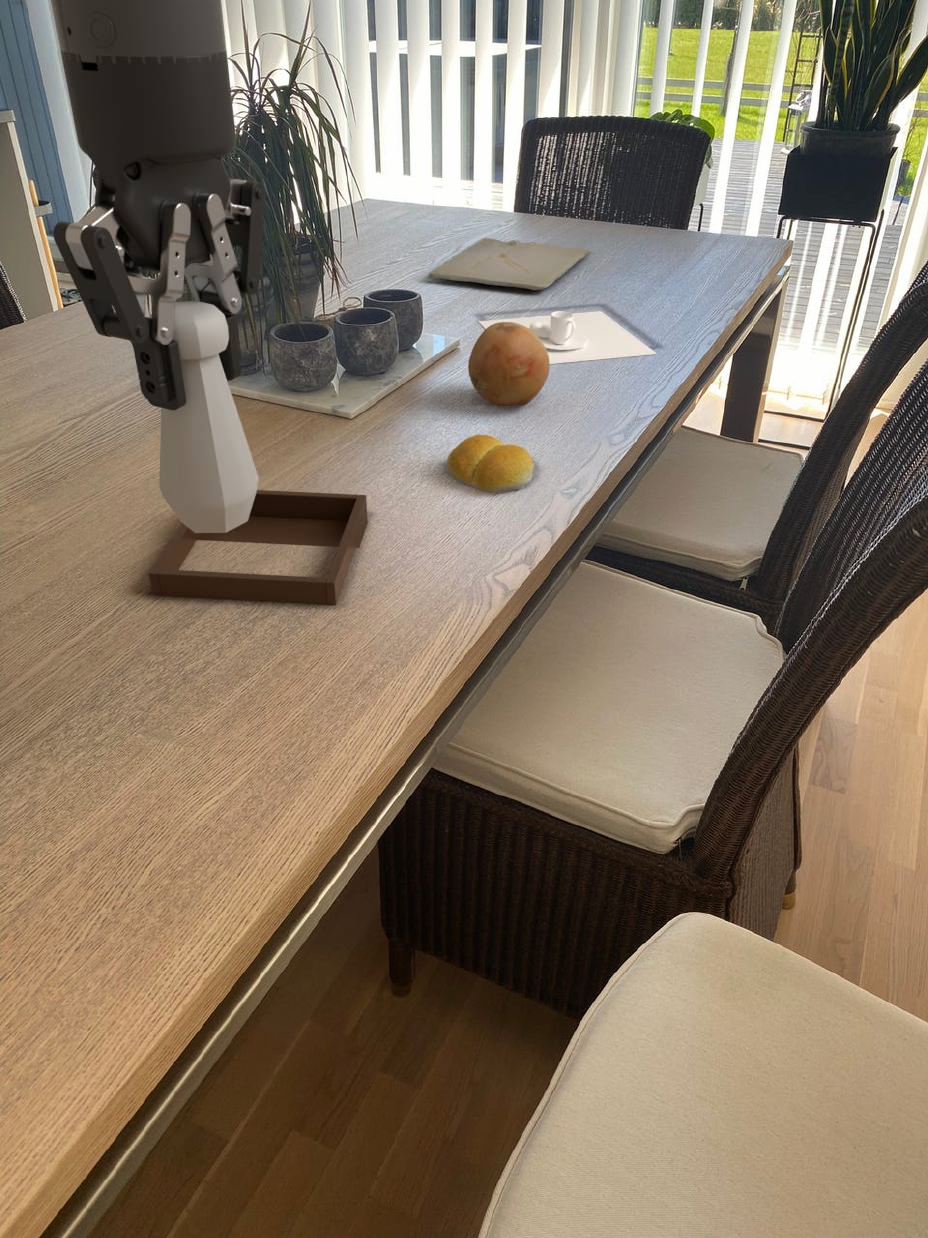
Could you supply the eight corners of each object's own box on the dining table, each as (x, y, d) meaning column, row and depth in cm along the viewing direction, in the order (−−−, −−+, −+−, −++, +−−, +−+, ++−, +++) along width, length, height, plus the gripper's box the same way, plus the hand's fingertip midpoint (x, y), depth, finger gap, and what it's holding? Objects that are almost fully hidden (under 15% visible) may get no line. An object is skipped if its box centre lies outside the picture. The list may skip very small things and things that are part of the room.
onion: (564, 404, 117) (570, 323, 111) (508, 427, 111) (511, 342, 105) (507, 383, 122) (509, 304, 116) (451, 403, 116) (451, 322, 111)
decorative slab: (479, 246, 180) (480, 235, 179) (589, 256, 174) (590, 245, 173) (427, 283, 159) (427, 271, 158) (549, 297, 153) (550, 285, 152)
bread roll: (505, 503, 95) (506, 467, 93) (435, 478, 100) (435, 443, 97) (550, 474, 101) (552, 439, 98) (482, 451, 105) (483, 418, 103)
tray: (154, 604, 80) (148, 573, 78) (210, 515, 93) (205, 487, 91) (337, 614, 79) (334, 583, 77) (367, 523, 92) (366, 494, 90)
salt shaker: (150, 535, 57) (108, 319, 49) (189, 492, 62) (155, 288, 54) (243, 545, 56) (214, 327, 49) (275, 500, 61) (253, 295, 53)
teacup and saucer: (521, 334, 138) (523, 306, 135) (573, 330, 140) (575, 302, 137) (542, 355, 131) (544, 325, 128) (596, 350, 133) (598, 320, 130)
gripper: (179, 30, 51) (220, 343, 61) (-40, 46, 40) (52, 423, 50) (296, 37, 48) (319, 363, 58) (96, 57, 38) (165, 452, 48)
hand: (195, 389), depth 54 cm, fingers closed on salt shaker, 4 cm apart
